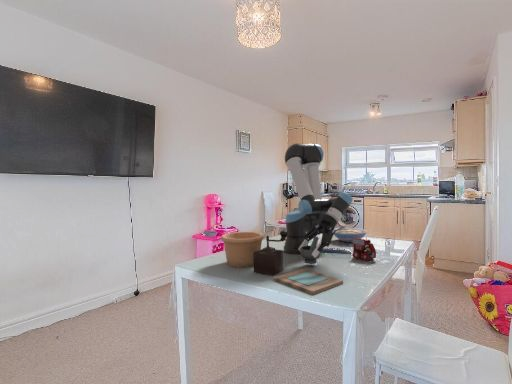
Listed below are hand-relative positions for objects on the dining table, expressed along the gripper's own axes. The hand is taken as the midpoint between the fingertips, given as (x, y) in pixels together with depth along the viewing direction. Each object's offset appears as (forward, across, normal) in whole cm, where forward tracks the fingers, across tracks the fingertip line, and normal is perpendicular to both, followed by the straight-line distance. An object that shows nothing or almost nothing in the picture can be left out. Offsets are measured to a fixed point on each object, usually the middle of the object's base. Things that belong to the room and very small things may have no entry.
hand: (306, 253), depth 145 cm
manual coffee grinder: (+17, -4, -8) cm, 19 cm away
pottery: (+21, -22, -12) cm, 33 cm away
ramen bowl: (-36, -31, +47) cm, 67 cm away
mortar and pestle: (+1, 0, +6) cm, 6 cm away
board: (+13, +18, -6) cm, 23 cm away
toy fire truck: (-19, +6, +28) cm, 34 cm away
